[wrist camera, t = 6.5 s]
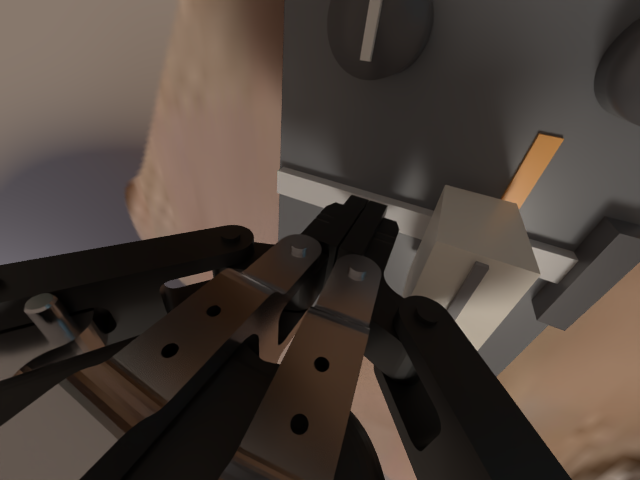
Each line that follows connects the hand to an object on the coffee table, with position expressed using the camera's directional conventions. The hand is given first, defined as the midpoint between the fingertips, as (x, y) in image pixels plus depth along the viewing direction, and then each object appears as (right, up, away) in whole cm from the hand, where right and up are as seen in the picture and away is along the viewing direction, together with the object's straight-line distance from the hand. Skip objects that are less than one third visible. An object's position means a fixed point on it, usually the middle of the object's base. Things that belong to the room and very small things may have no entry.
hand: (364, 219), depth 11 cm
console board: (+3, +1, +3) cm, 4 cm away
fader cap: (+4, -1, 0) cm, 4 cm away
